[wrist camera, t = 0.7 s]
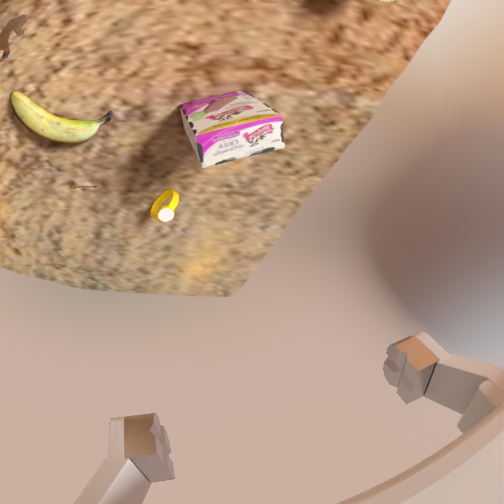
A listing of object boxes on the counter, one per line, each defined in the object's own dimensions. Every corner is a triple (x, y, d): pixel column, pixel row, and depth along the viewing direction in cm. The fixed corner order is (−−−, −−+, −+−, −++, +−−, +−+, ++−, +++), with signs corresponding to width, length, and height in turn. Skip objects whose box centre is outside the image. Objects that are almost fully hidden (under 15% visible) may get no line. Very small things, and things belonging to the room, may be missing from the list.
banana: (-44, 152, 35) (-53, 161, 32) (13, 1, 25) (5, 0, 22) (115, 214, 56) (114, 226, 53) (193, 85, 46) (197, 89, 43)
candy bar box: (243, 87, 48) (284, 113, 37) (247, 114, 52) (287, 149, 40) (177, 103, 47) (194, 134, 35) (183, 130, 50) (202, 171, 38)
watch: (157, 211, 58) (159, 230, 54) (146, 203, 57) (147, 222, 52) (180, 190, 57) (183, 209, 53) (169, 181, 55) (172, 199, 51)
